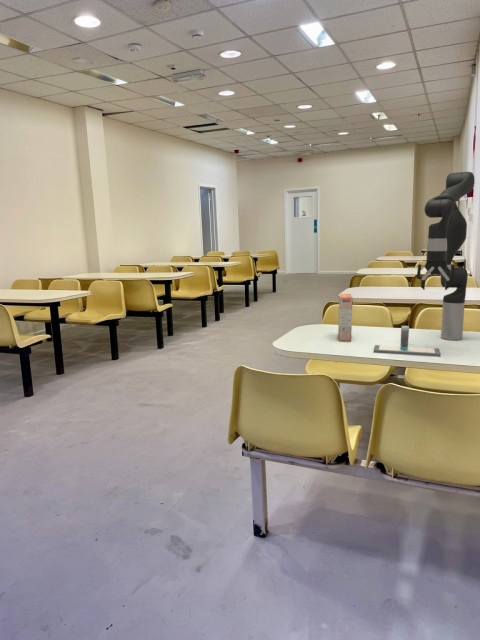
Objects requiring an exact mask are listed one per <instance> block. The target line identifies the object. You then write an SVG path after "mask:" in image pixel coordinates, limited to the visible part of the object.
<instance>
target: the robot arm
mask: <svg viewBox="0 0 480 640" xmlns="http://www.w3.org/2000/svg"><path fill="white" fill-rule="evenodd" d="M475 179H476V178H475V174H474V173H473V172H471V171H460V172H450V173H448V174H447V176H446V179H445V189H444V190H443V191H441V193H440V194H439V195H437V196H434V197H432V198H430V199H429V200H427V202H426V203H425V205H424V208H423V209H424V214H425V216H426V217H428V218H431V219H433V218H441V219H440V221H439V222H436V223H432V224H430V225H429V226H428V235H427V236H428V237H427V242H426V243H427V244H426V261H425V264H421V263H420V264H418V265H417V273H416V279H418V280H420V281H421V282H420V283H421V284H420V287H421V289H422V291H423V290H424V291H425V290H426V288H425V287H426V286H425V285H426V279H427V278H428V276H429V275H431V276H435V275H436V276H440V285H441V287H442V288H444V290H445V291H447V290H448V289H450V288H452V289H453V288H454V289H455V288H456V289H455V290H454V291H452V292H451V293H448V294H445V295H444V296H443V297H442V313H441V332H440V338H441V339H443V340H449V341H460V340H463V334H464V333H463V332H464V321H465V319H464V318H465V317H464V316H465V304H466V303H465V300H466V295H467V294H466V293H467V286H468V285H467V284H468V270H467V268H466V267H455V264H453V260H454V257H455V256H456V254H457V252H458V251H459V250H460V249H461V247H462V245H463V244H464V243H465V241H466V238H467V229H468V223H467V220H466V218H465V216H464V215H463V214H462V212H461V210H460V209H459V207H458V205H457V204H458V203H457V201H459V200H460V199H461V198H463V197H464V196H466V195H468V194H469V193H471V192H472V191H473V189H474V187H475ZM423 269H426V272H425V273H424V274H423V275H422V276H421V272H422V271H423Z"/></svg>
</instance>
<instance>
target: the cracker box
mask: <svg viewBox="0 0 480 640" xmlns="http://www.w3.org/2000/svg"><path fill="white" fill-rule="evenodd" d="M353 299H354V298H353V296H352V294H351V293H339V296H338V331H337V332H338V333H337V335H338V341H339V342H352V330H353V329H352V326H353V322H352V321H353Z"/></svg>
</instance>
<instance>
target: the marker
mask: <svg viewBox="0 0 480 640" xmlns="http://www.w3.org/2000/svg"><path fill="white" fill-rule="evenodd" d="M409 337H410V326H409V325H401V329H400V350H402V351H407V350H408V347H409Z"/></svg>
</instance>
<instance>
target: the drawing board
mask: <svg viewBox="0 0 480 640" xmlns="http://www.w3.org/2000/svg"><path fill="white" fill-rule="evenodd" d="M373 353H375V354H376V353H377V354H391V355H392V354H393V355H408V356H410V355H411V356H422V357H423V356H425V357H426V356H427V357H437V358H438V357H441V351H440V348H437V347H434V348H433V347H420V346H417V347H416V346H408V350H407V351H402V350H400V346H399V345H382V344H381V345H380V344H374V348H373Z"/></svg>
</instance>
